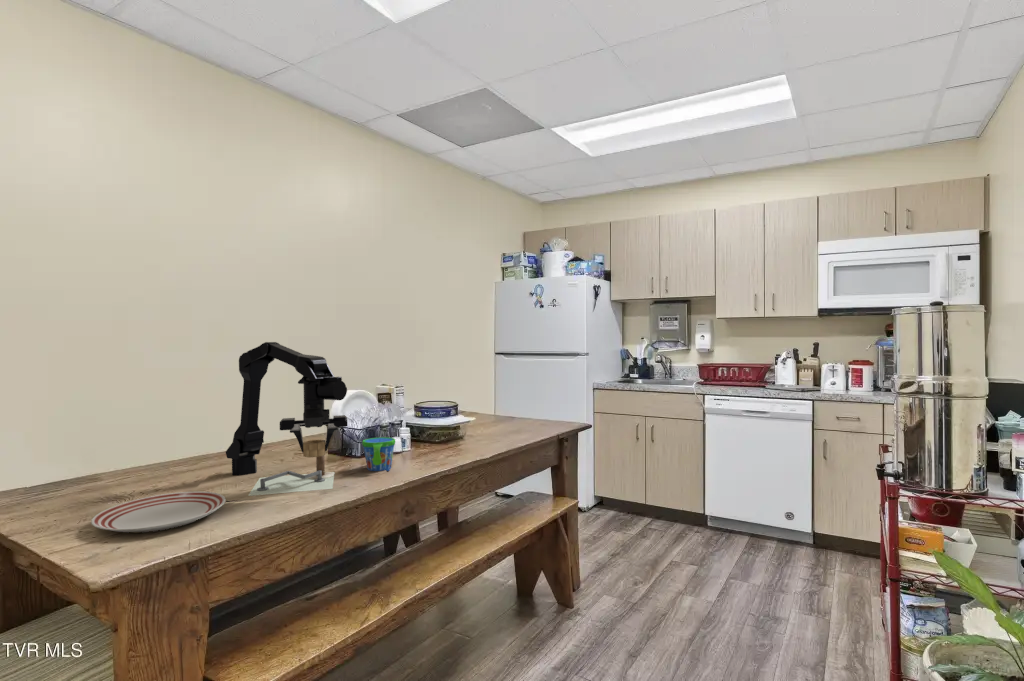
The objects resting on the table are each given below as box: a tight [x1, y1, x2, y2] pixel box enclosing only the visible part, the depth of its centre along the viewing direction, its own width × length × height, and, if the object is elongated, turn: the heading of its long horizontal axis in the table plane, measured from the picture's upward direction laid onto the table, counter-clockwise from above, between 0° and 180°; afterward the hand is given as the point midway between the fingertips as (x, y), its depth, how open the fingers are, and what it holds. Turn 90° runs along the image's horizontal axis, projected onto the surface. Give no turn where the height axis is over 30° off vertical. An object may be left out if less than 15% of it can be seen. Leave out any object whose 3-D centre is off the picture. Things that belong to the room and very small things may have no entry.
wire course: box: [247, 470, 335, 497], centre depth 165 cm, size 22×21×4 cm
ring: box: [302, 439, 327, 458], centre depth 165 cm, size 6×6×4 cm
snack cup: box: [361, 436, 396, 472], centre depth 182 cm, size 16×10×10 cm
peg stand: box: [308, 455, 335, 480], centre depth 172 cm, size 8×8×7 cm
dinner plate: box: [90, 491, 226, 533], centre depth 135 cm, size 28×27×3 cm
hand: (314, 451), depth 165 cm, fingers closed on ring, 6 cm apart
